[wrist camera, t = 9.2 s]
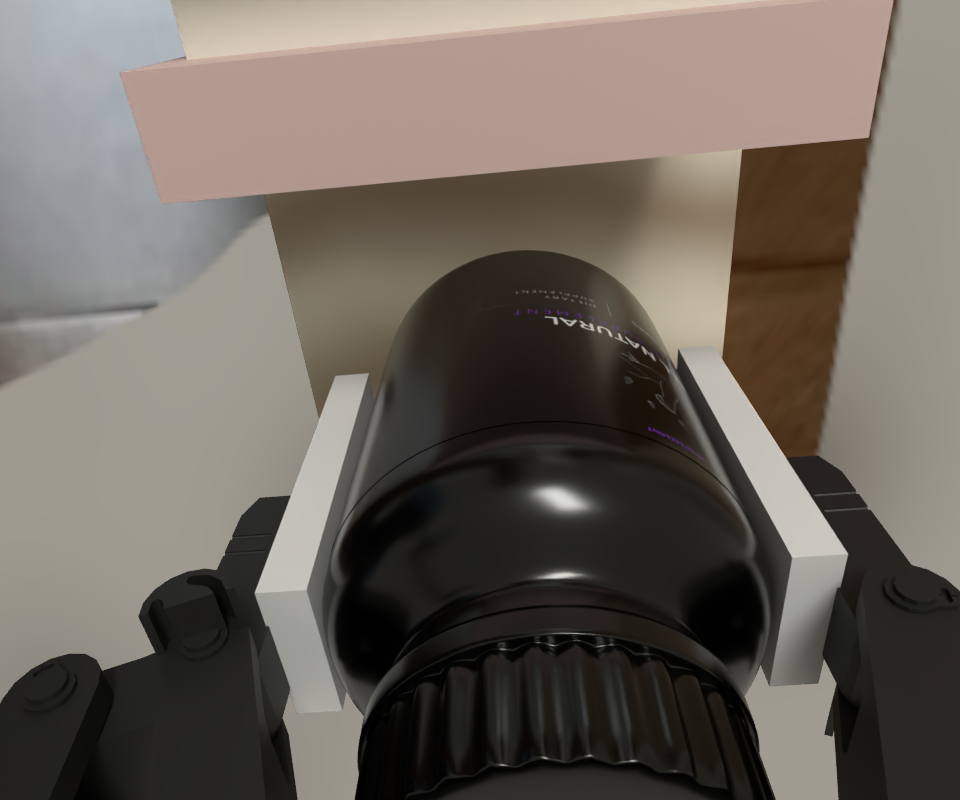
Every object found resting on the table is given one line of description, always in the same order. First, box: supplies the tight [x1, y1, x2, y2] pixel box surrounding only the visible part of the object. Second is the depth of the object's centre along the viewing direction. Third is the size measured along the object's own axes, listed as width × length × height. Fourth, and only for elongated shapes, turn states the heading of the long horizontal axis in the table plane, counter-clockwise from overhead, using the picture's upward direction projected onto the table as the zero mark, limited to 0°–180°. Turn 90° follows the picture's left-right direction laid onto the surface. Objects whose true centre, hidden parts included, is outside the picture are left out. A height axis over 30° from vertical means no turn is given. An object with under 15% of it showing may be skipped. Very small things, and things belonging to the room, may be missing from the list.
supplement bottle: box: [322, 250, 776, 800], centre depth 13 cm, size 7×7×12 cm
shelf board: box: [264, 149, 742, 419], centre depth 22 cm, size 20×14×2 cm
